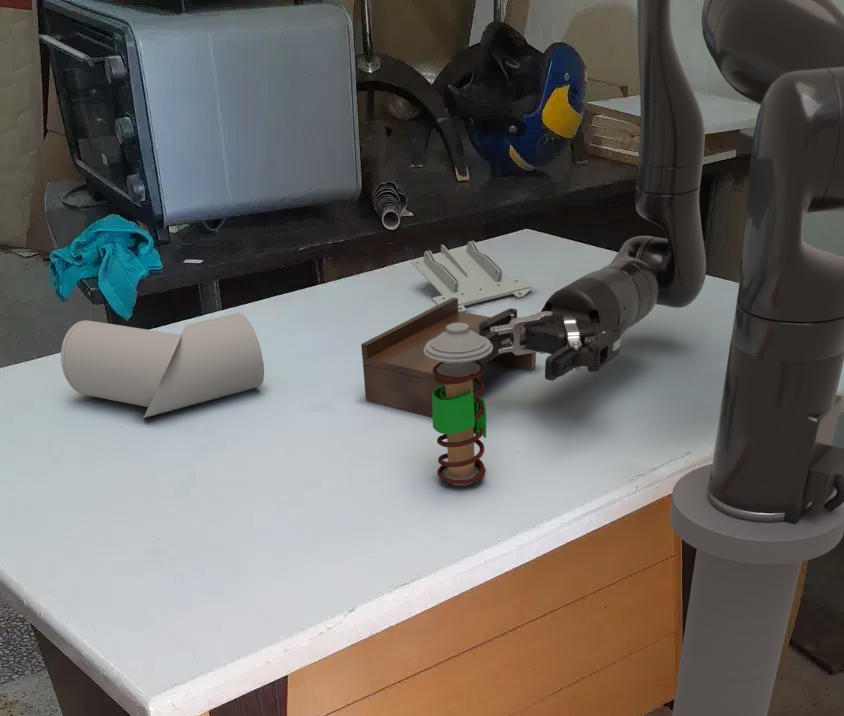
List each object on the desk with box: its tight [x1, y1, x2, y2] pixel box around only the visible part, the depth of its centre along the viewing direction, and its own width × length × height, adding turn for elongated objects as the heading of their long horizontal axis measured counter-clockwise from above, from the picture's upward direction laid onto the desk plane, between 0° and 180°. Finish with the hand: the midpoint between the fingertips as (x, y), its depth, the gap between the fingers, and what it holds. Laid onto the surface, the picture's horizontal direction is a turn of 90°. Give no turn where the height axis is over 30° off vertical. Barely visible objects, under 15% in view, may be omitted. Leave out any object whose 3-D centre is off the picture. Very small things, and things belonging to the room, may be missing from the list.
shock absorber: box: [423, 323, 493, 487], centre depth 96 cm, size 6×6×15 cm
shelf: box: [360, 298, 537, 418], centre depth 118 cm, size 12×18×6 cm, turn 144°
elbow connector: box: [60, 312, 265, 419], centre depth 118 cm, size 18×11×20 cm
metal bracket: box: [411, 240, 533, 312], centre depth 145 cm, size 14×6×15 cm
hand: (511, 362), depth 101 cm, fingers open, 8 cm apart
